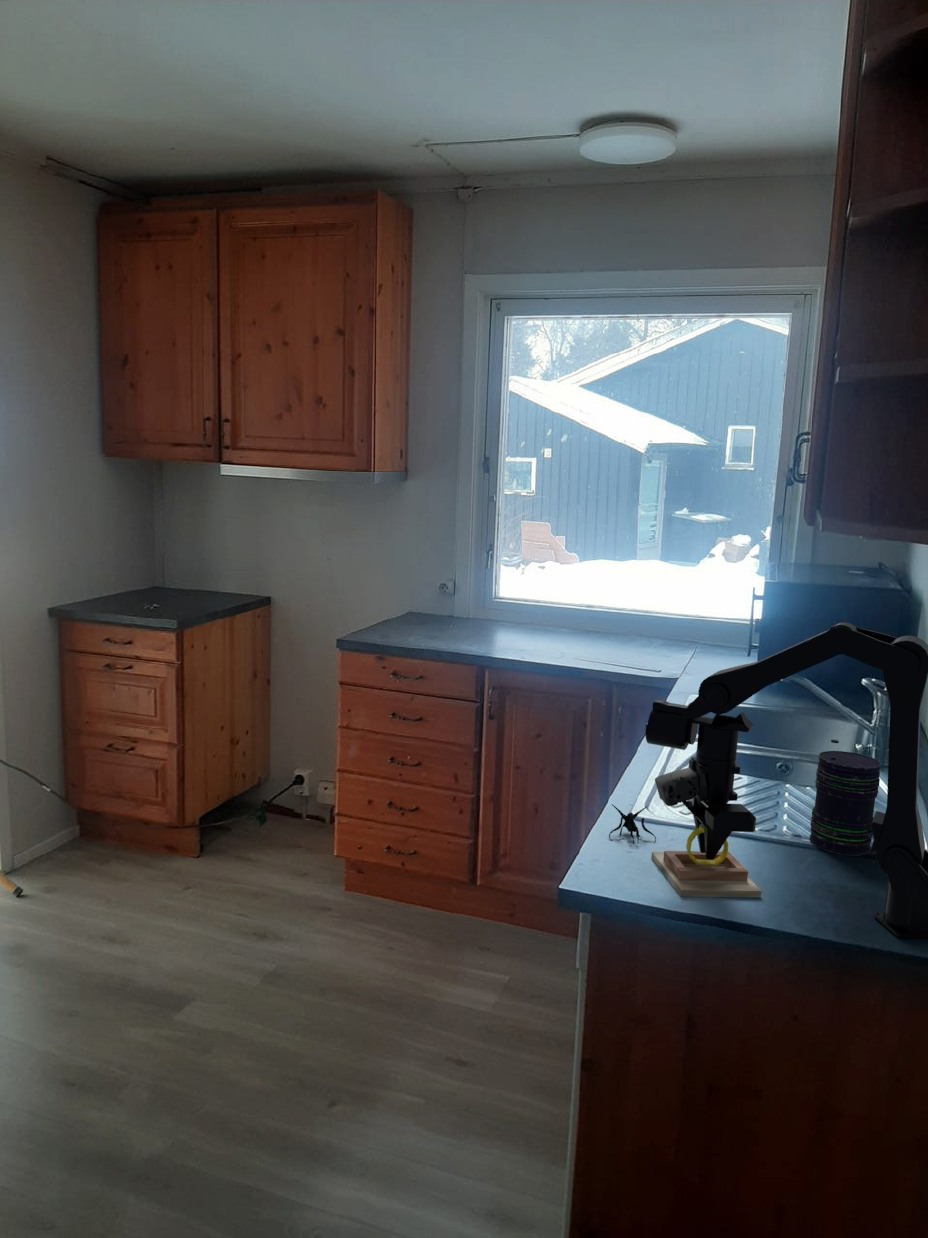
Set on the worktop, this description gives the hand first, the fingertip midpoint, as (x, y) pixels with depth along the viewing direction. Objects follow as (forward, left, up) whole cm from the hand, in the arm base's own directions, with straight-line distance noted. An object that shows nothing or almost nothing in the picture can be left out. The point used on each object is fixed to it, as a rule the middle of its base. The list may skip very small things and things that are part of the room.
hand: (706, 855), depth 141 cm
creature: (+15, +7, -4) cm, 17 cm away
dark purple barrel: (+14, -29, -4) cm, 32 cm away
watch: (0, 0, -1) cm, 1 cm away
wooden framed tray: (0, 0, -3) cm, 3 cm away
